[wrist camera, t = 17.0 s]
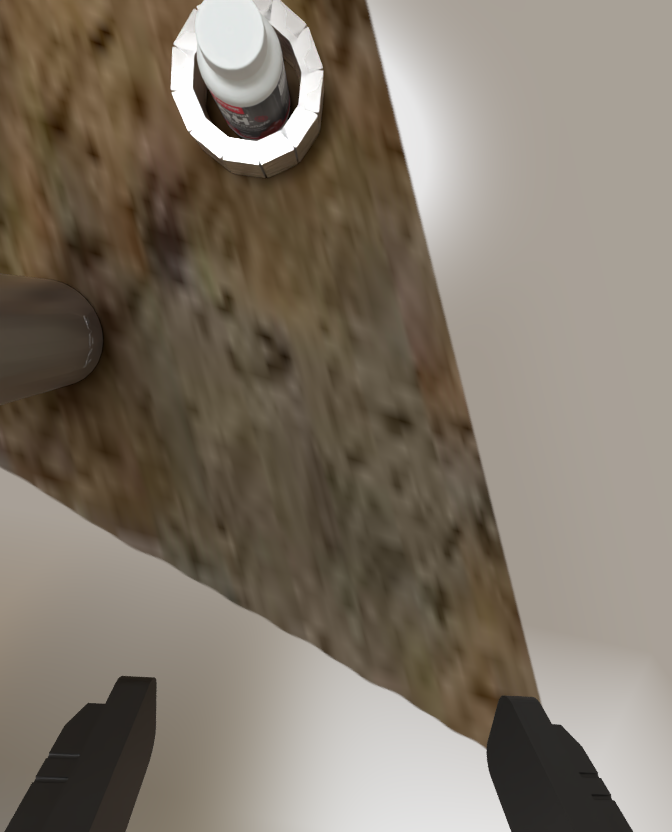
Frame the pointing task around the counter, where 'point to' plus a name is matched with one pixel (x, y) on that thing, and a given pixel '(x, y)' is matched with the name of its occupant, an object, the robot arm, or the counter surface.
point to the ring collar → (275, 148)
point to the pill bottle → (242, 67)
